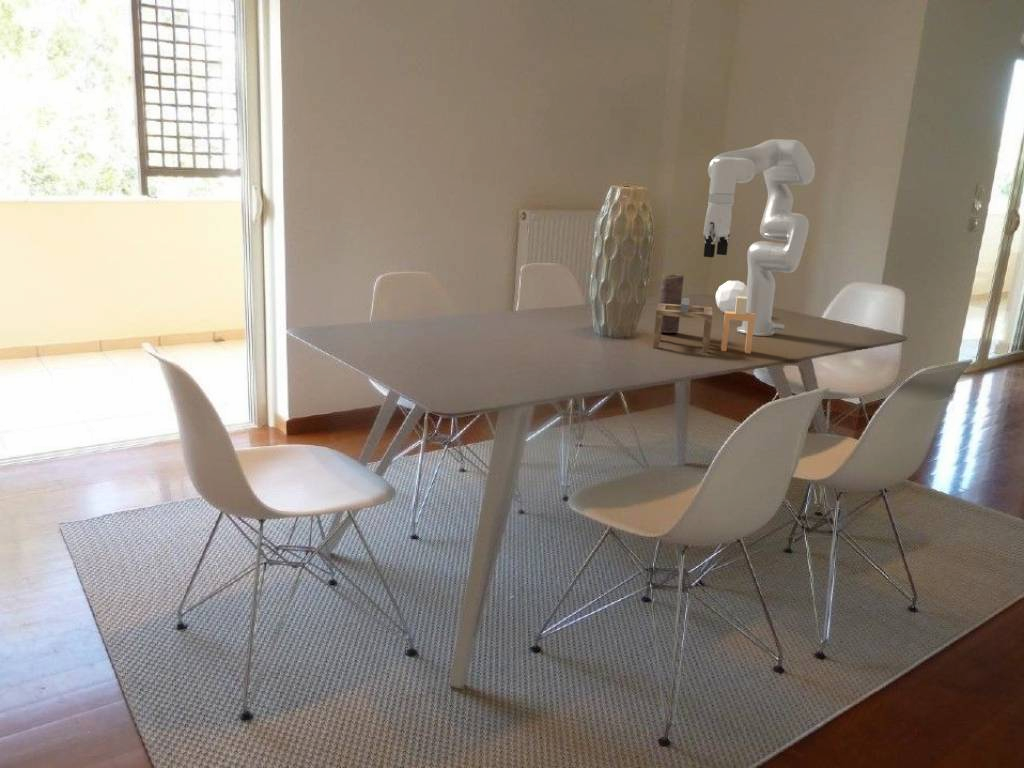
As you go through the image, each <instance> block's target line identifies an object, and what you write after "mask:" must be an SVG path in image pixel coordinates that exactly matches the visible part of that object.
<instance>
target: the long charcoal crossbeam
mask: <svg viewBox="0 0 1024 768" xmlns="http://www.w3.org/2000/svg"><path fill="white" fill-rule="evenodd" d="M690 300H691V299H690V297H682V298H681V311H680V312H685V313H688V311H689V306H690Z"/></svg>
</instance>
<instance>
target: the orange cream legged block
mask: <svg viewBox="0 0 1024 768" xmlns="http://www.w3.org/2000/svg"><path fill="white" fill-rule="evenodd" d="M746 305H747V297H745V296H737V297H736V306H735V312H731V311H725V313H724V315H723V316H724V317H723V318H724V319H723V327H722V335H721V345H720V351H721V352H727V350H728V342H729V341H728V338H729V331H730V321H739V322H740V321H741V322H742V321H748V328H747V334H746V337H745V347H744V352H745V354H752V345H753V337H754V335H753V330H754V322H755V313H746Z"/></svg>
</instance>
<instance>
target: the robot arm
mask: <svg viewBox="0 0 1024 768" xmlns="http://www.w3.org/2000/svg"><path fill="white" fill-rule="evenodd" d="M707 173H708V176H709V178H710V182H709V192H708V193H709V194H708V201H707V204H708V206H707V209H706V214H705V220H704V225H703V226H704V227H703V237H704V247H703V257H705V258H715V251H716V255H722V256H726V255H727V254H728V247H729V242H730V241H729V237H730V235H731V234H730V232H731V230H732V229H731V227H732V225H731V223H732V206H734V202H735V201H734V200H735V192H736V183H737V184H746V183H749V182H751V180H753V179H754V177H755V175H756V174H757V175H758V174H763V179H764V182H765V185H766V190H767V200H766V205H765V209H764V211H763V215H762V218H761V222H760V225H759V234H760V236H761V237H763V238H765V239H768V240H772V241H763V240H760V241H756V242H753V243H752V244H750V246H749V248H748V249H747V255H746V256H747V282H746V286H747V287H746V296H745V297H747V305H746V313H755V322H754V330H753V336H755V337H756V336H757V337H767V336H768V337H769V336H773V335H774V334H775V330H778V331H785V324H781V323H775V322H773V321H772V314H773V306H774V298H775V290H776V280H775V277H774V275H773V273H772V272H776V273H777V272H778V273H779V272H780V273H788V274H790V273H793V272H795V271H796V270H797V269H798V267H799V264H800V263H801V260H802V259H801V258H802V255H803V251H804V249H805V246H806V245H805V244H806V242H807V237H808V234H809V228H810V227H809V223H810V222H809V220H808V217H807V216H806V215H804V214H801V213H797V212H792V208H793V204H794V196H793V194H792V191H791V190H790V188H789V187H788V185H797V186H798V185H799V186H806V185H809V184H810V183H811V182H812V181H813V180H814V177H815V176H816V175H815V174H816V166H815V163H814V159H812V157H811V155H810V153H809V151H808V150H807V148H806V146H805V145H804V144H803V142H801V141H800V140H798V139H797V140H796V139H780V138H779V139H778V138H776V139H775V138H774V139H773V138H772V139H768V140H765V141H763V142H761V143H760V144H757V145H754V146H752V147H747V148H746V147H745V148H742V149H737V150H730V151H726V152H722V153H721V154H717V155H716V156H714V157H713V158H712V159H711V161H710V162H709V164H708V168H707ZM717 238H718V241H717V245H716V243H715V242H716V240H717ZM773 240H775V241H783V242H787V243H781V242H774V241H773ZM716 248H717V249H716ZM741 322H742V323H741V326H738V327H736V331H737V332H738V333H741V334H744V335H747V328H748V321H741Z"/></svg>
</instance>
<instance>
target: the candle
mask: <svg viewBox="0 0 1024 768" xmlns="http://www.w3.org/2000/svg"><path fill="white" fill-rule="evenodd" d="M683 285H684V275H683V274H663V275H662V277H661V286H660V294H659V303H664V304H676V305H681V301H682V298H683V297H682V295H683V287H684V286H683ZM680 318H681V317H675V316H663V320H662V330H661V334H679V329H680V328H679V327H680V320H681V319H680Z"/></svg>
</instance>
